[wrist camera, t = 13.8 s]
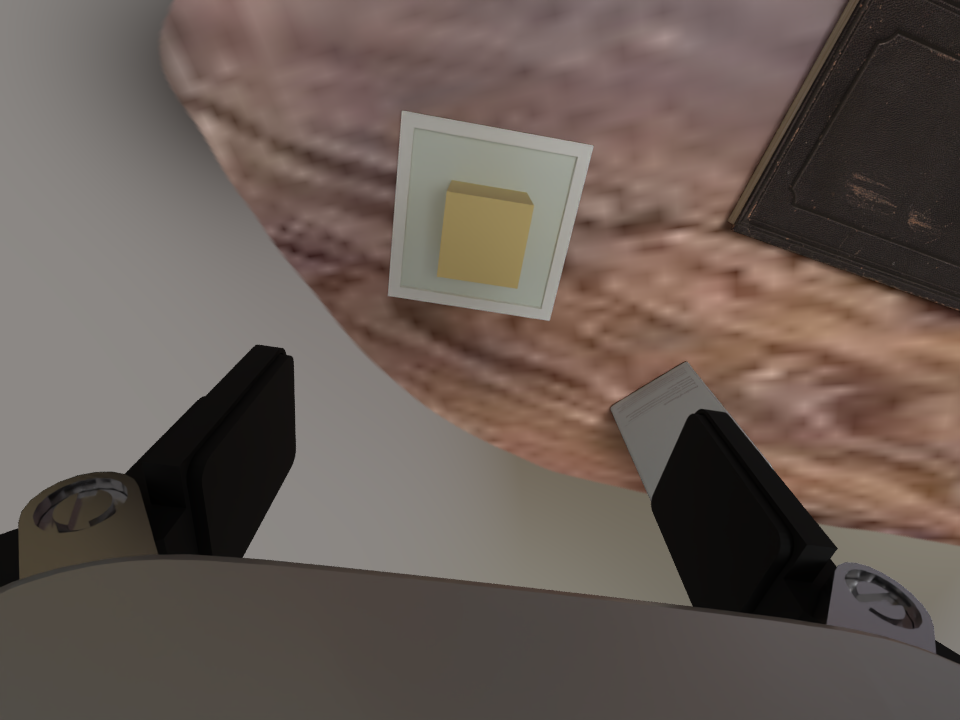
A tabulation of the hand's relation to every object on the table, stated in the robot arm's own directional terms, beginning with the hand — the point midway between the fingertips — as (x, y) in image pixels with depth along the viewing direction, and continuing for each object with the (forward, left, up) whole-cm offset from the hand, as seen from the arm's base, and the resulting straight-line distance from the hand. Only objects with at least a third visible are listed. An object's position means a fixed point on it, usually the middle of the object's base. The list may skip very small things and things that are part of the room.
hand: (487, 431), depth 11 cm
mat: (0, 0, -24) cm, 24 cm away
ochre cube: (0, 0, -24) cm, 24 cm away
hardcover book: (-9, +29, -25) cm, 39 cm away
